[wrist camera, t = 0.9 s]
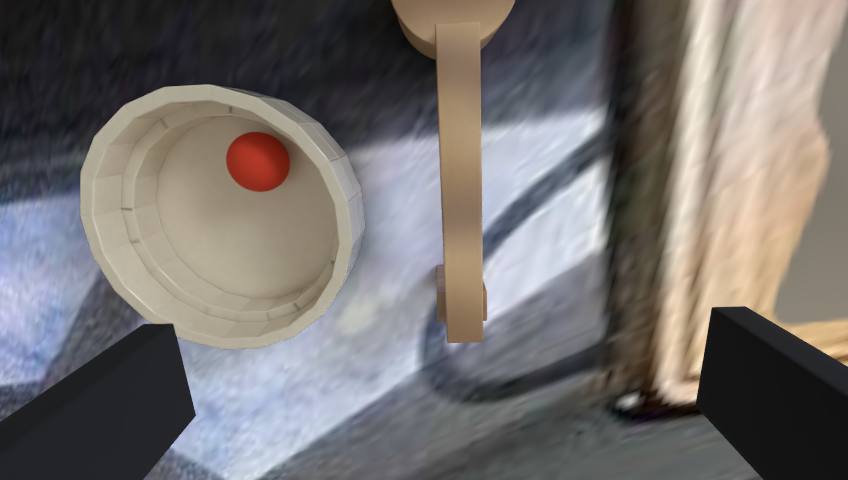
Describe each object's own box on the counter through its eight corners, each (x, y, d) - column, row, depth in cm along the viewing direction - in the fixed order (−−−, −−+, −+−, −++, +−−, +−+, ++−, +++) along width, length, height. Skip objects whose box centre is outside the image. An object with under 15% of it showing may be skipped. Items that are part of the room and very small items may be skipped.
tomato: (238, 132, 26) (207, 134, 22) (293, 129, 25) (271, 131, 22) (248, 188, 27) (220, 198, 23) (301, 185, 26) (281, 195, 23)
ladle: (392, -56, 23) (373, -131, 16) (504, -64, 23) (534, -144, 16) (414, 291, 29) (407, 344, 22) (502, 288, 29) (523, 341, 22)
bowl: (114, 98, 26) (41, 93, 21) (353, 84, 25) (334, 76, 20) (171, 316, 30) (121, 352, 25) (375, 309, 30) (363, 345, 25)
